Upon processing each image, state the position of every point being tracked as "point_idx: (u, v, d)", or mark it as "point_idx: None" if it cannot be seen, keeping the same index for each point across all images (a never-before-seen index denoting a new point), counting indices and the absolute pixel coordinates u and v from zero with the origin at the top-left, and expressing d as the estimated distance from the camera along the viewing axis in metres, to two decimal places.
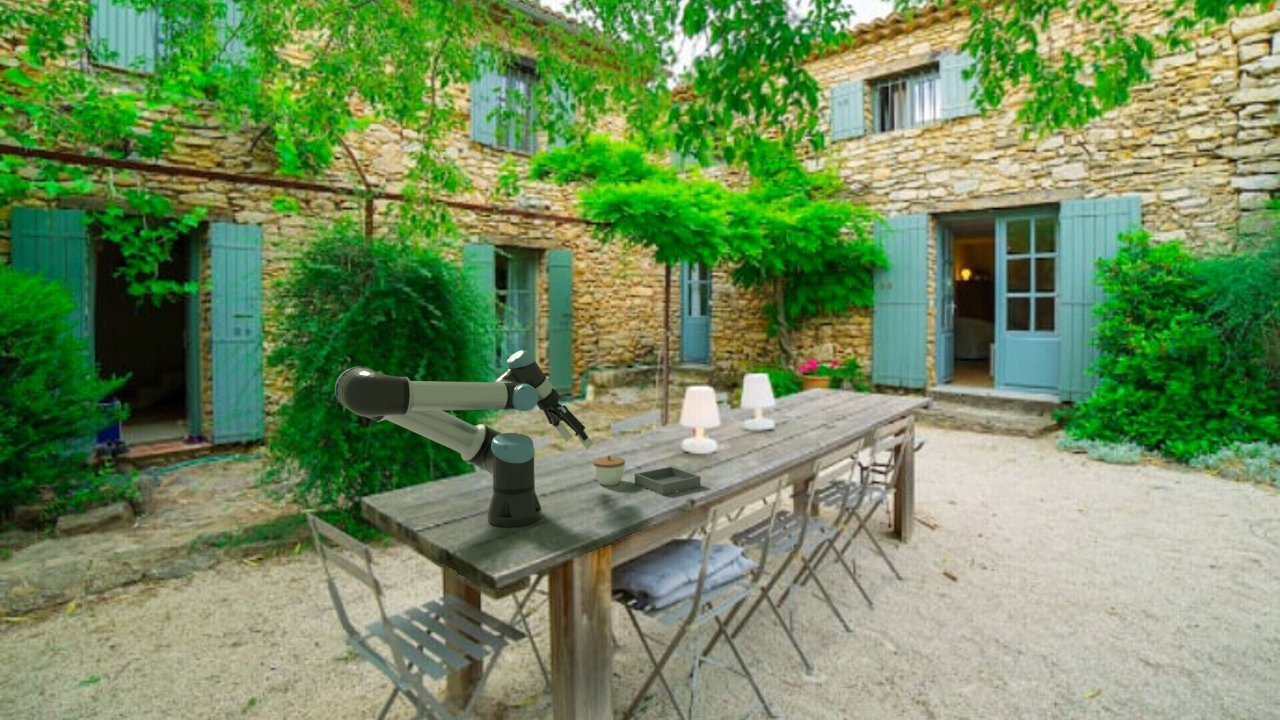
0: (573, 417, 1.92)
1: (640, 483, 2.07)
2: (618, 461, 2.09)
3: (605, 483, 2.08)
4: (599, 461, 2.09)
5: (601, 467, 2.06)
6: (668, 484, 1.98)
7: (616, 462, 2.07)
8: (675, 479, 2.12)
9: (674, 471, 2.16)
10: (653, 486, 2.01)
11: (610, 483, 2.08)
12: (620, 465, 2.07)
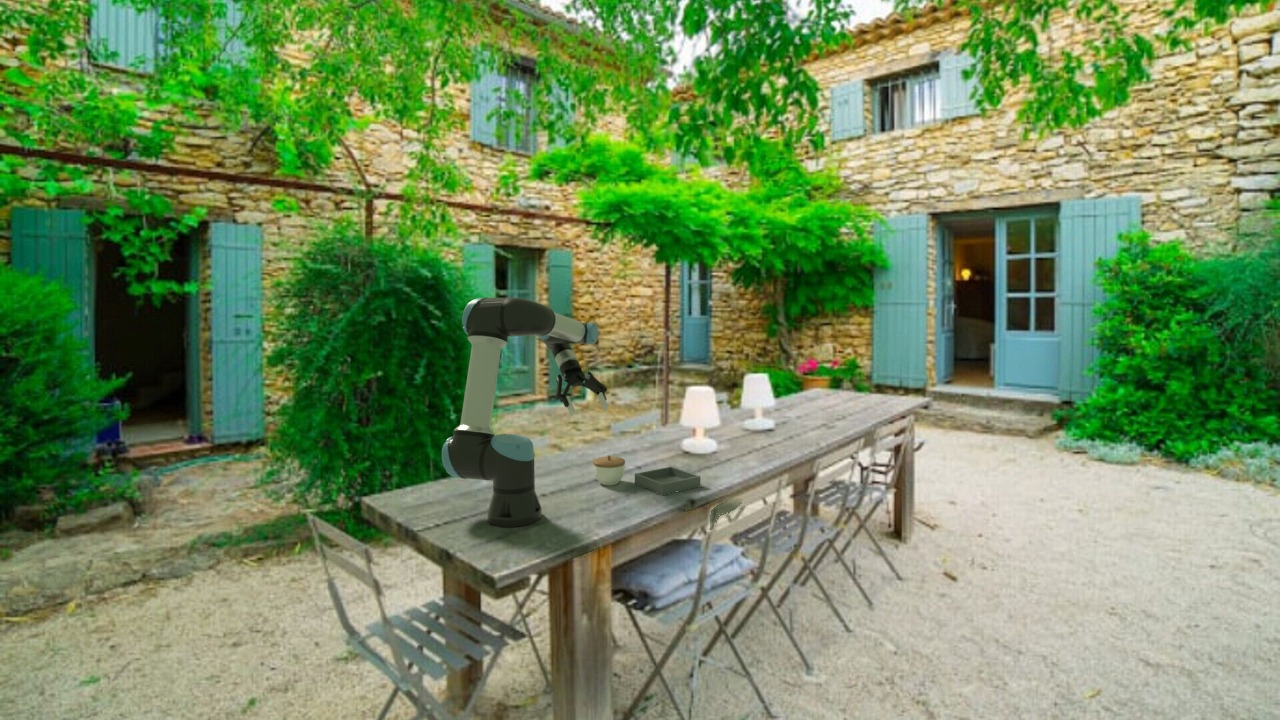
0: None
1: (640, 483, 2.07)
2: (618, 461, 2.09)
3: (605, 483, 2.08)
4: (599, 461, 2.09)
5: (601, 467, 2.06)
6: (668, 484, 1.98)
7: (616, 462, 2.07)
8: (675, 479, 2.12)
9: (674, 471, 2.16)
10: (653, 486, 2.01)
11: (610, 483, 2.08)
12: (620, 465, 2.07)
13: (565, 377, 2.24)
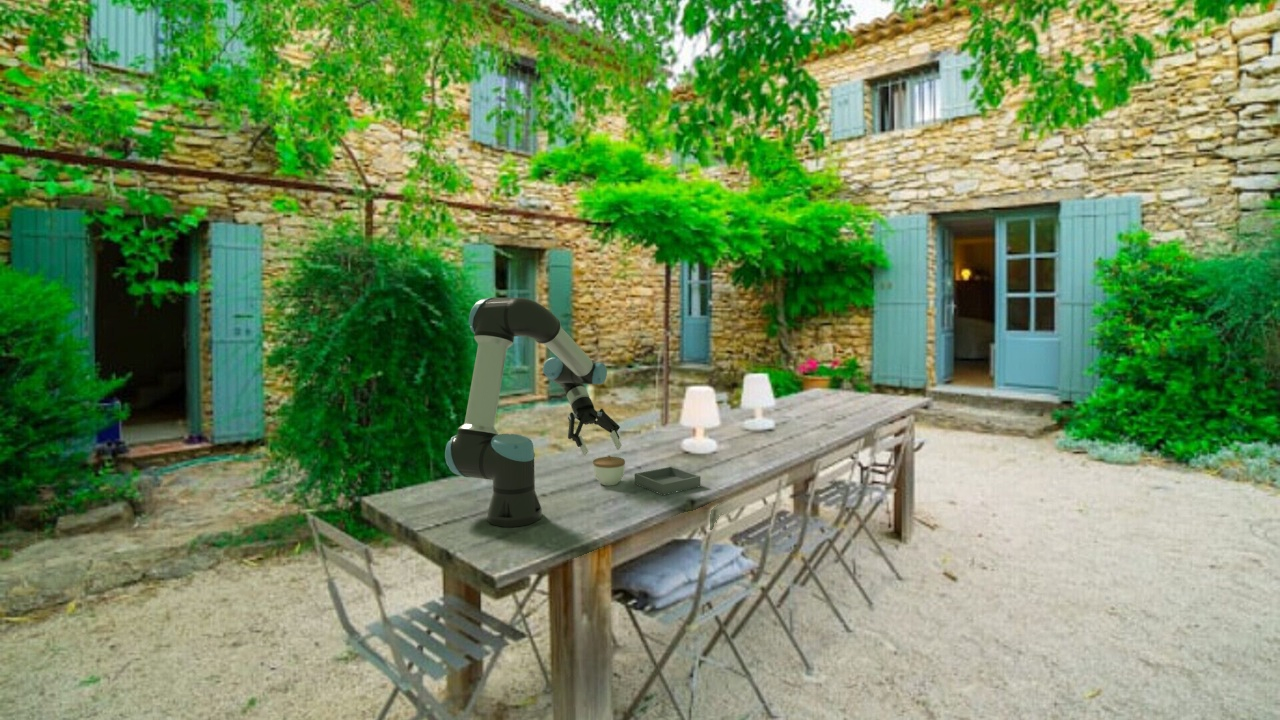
0: None
1: (640, 483, 2.07)
2: (618, 461, 2.09)
3: (605, 483, 2.08)
4: (599, 461, 2.09)
5: (601, 467, 2.06)
6: (668, 484, 1.98)
7: (616, 462, 2.07)
8: (675, 479, 2.12)
9: (674, 471, 2.16)
10: (653, 486, 2.01)
11: (610, 483, 2.08)
12: (620, 465, 2.07)
13: (577, 415, 2.20)
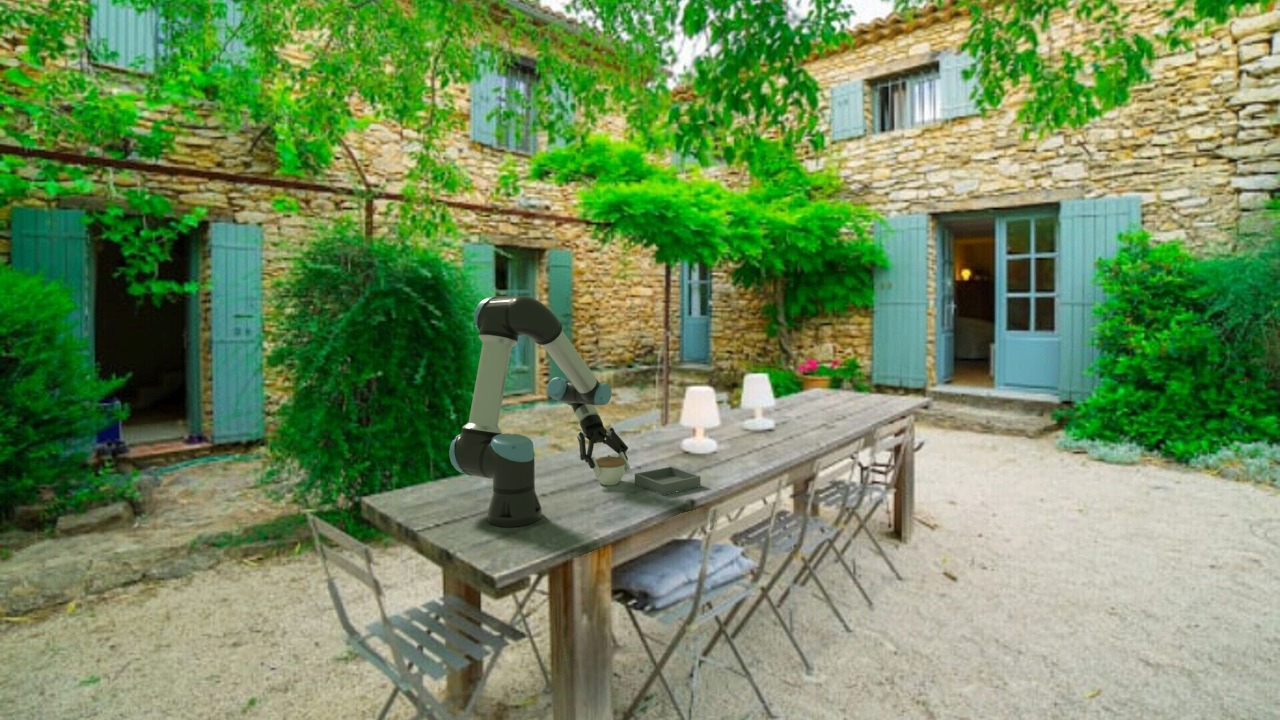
0: None
1: (640, 483, 2.07)
2: (618, 461, 2.09)
3: (605, 483, 2.08)
4: (599, 461, 2.09)
5: (601, 467, 2.06)
6: (668, 484, 1.98)
7: (616, 462, 2.07)
8: (675, 479, 2.12)
9: (674, 471, 2.16)
10: (653, 486, 2.01)
11: (610, 483, 2.08)
12: (620, 465, 2.07)
13: (586, 434, 2.14)
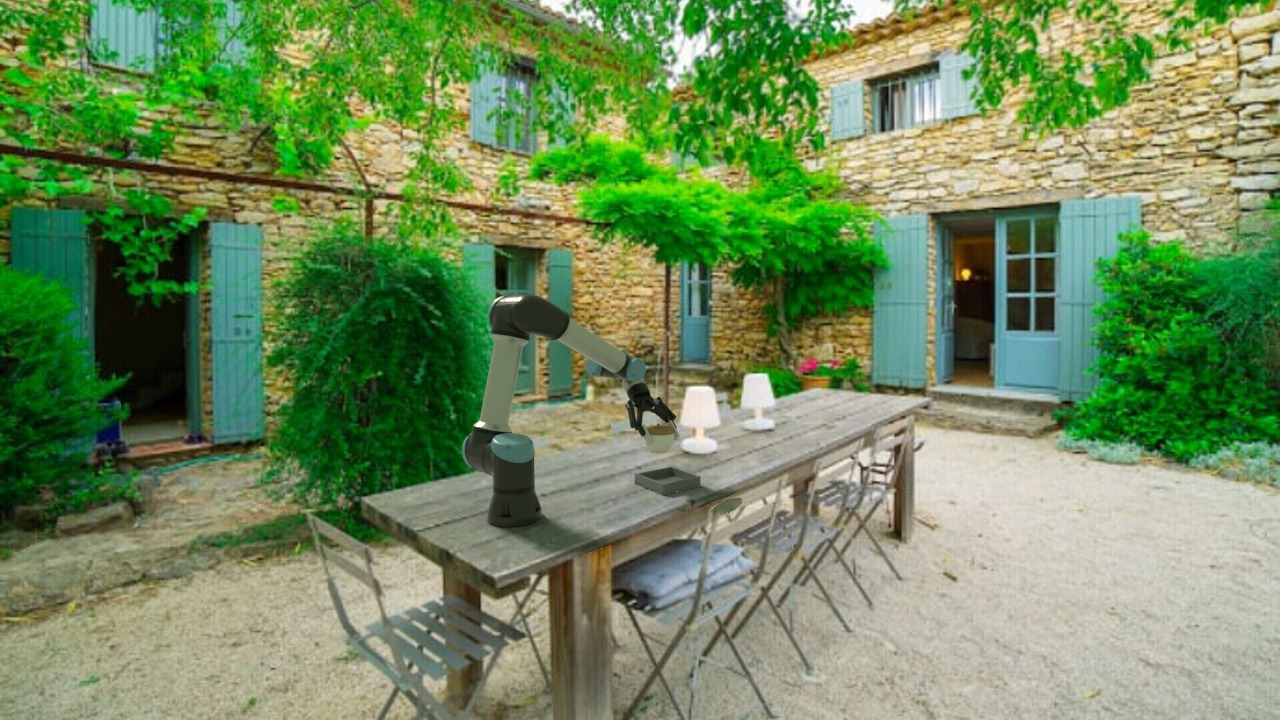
0: None
1: (640, 483, 2.07)
2: (668, 429, 2.06)
3: (655, 451, 2.05)
4: (649, 429, 2.06)
5: (652, 435, 2.03)
6: (668, 484, 1.98)
7: (667, 430, 2.04)
8: (675, 479, 2.12)
9: (674, 471, 2.16)
10: (653, 486, 2.01)
11: (660, 452, 2.05)
12: (671, 433, 2.04)
13: (635, 402, 2.11)
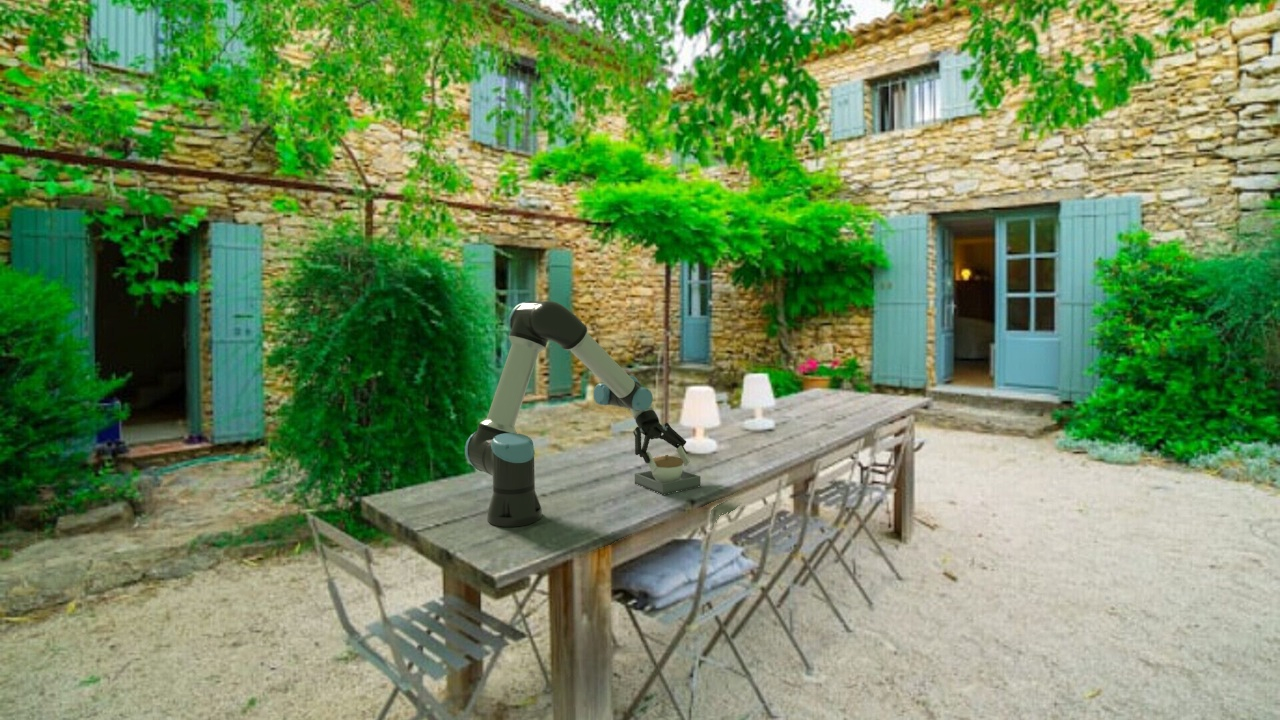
0: None
1: (640, 483, 2.07)
2: (677, 461, 2.05)
3: None
4: (657, 461, 2.05)
5: (660, 467, 2.02)
6: (668, 484, 1.98)
7: (675, 462, 2.04)
8: None
9: None
10: (653, 486, 2.01)
11: None
12: (679, 465, 2.04)
13: (643, 430, 2.10)
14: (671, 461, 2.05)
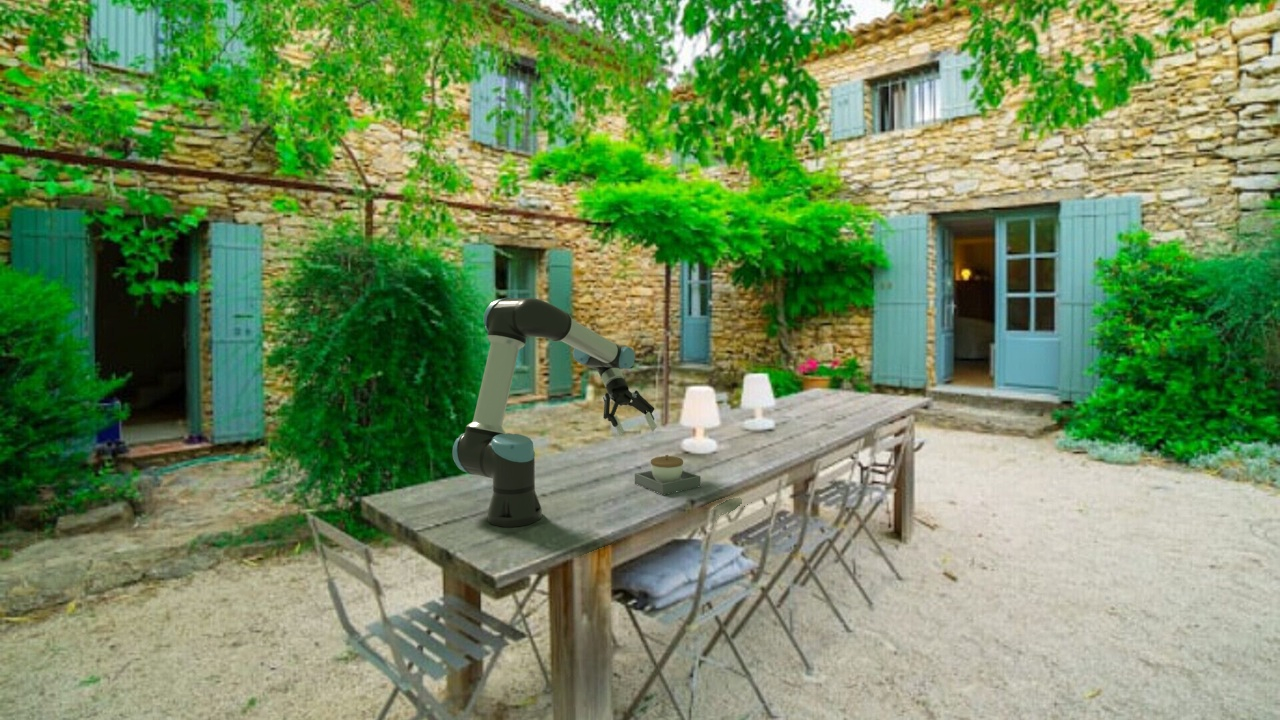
0: None
1: (640, 483, 2.07)
2: (677, 461, 2.05)
3: None
4: (657, 461, 2.05)
5: (660, 467, 2.02)
6: (668, 484, 1.98)
7: (675, 462, 2.04)
8: None
9: None
10: (653, 486, 2.01)
11: None
12: (679, 465, 2.04)
13: (612, 396, 2.19)
14: (671, 461, 2.05)
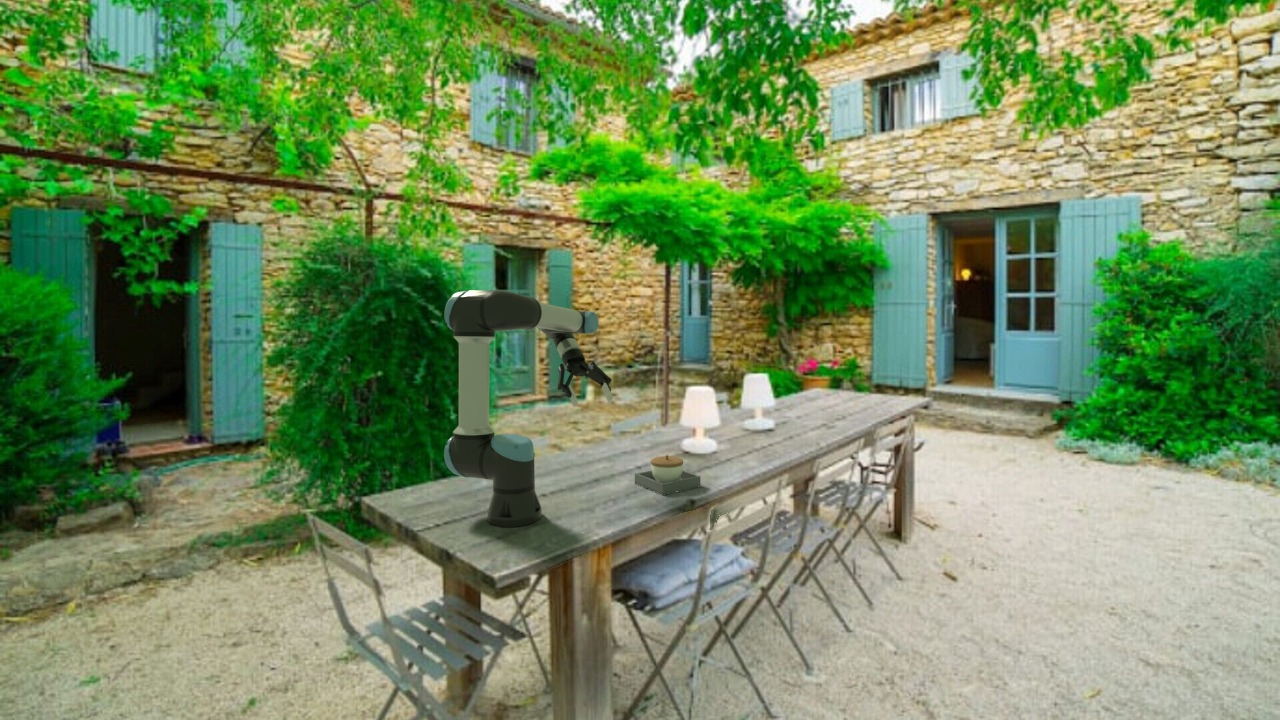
0: None
1: (640, 483, 2.07)
2: (677, 461, 2.05)
3: None
4: (657, 461, 2.05)
5: (660, 467, 2.02)
6: (668, 484, 1.98)
7: (675, 462, 2.04)
8: None
9: None
10: (653, 486, 2.01)
11: None
12: (679, 465, 2.04)
13: (568, 367, 2.13)
14: (671, 461, 2.05)
